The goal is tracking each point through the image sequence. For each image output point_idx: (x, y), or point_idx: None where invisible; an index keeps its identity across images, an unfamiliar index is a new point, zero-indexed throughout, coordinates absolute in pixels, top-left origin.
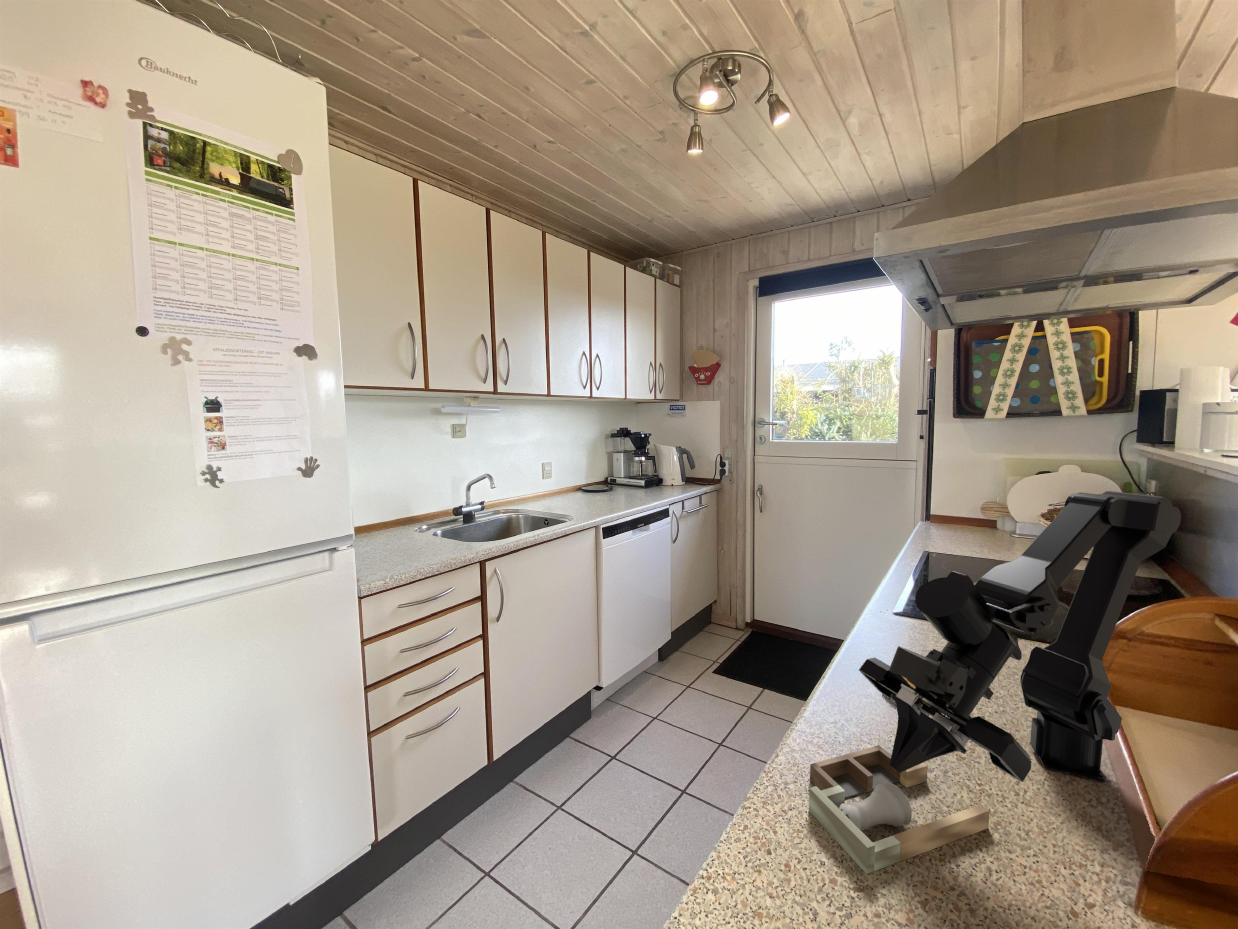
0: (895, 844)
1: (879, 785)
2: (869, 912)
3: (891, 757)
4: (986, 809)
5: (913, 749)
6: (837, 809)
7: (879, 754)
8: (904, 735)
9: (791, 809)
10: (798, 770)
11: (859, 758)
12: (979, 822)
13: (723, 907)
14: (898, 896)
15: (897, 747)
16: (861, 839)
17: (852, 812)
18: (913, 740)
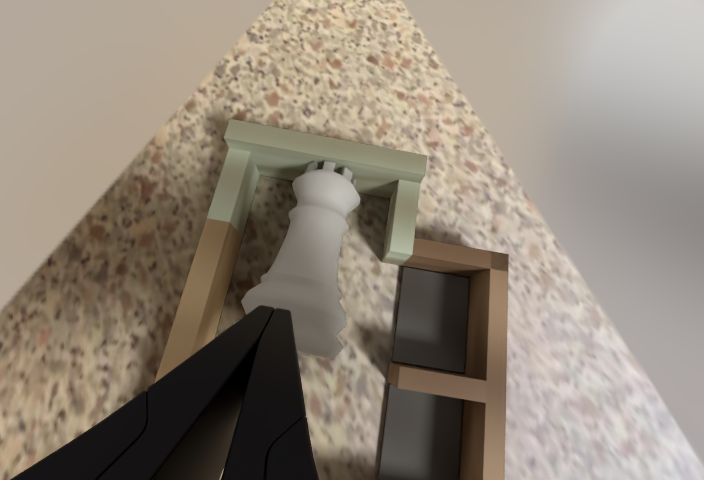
0: (211, 204)
1: (326, 308)
2: (201, 100)
3: (289, 324)
4: None
5: (158, 381)
6: (341, 155)
7: None
8: (238, 434)
9: (430, 160)
10: (523, 268)
11: (479, 435)
12: None
13: None
14: (184, 163)
15: (271, 363)
16: (251, 126)
17: (313, 173)
18: (154, 427)
